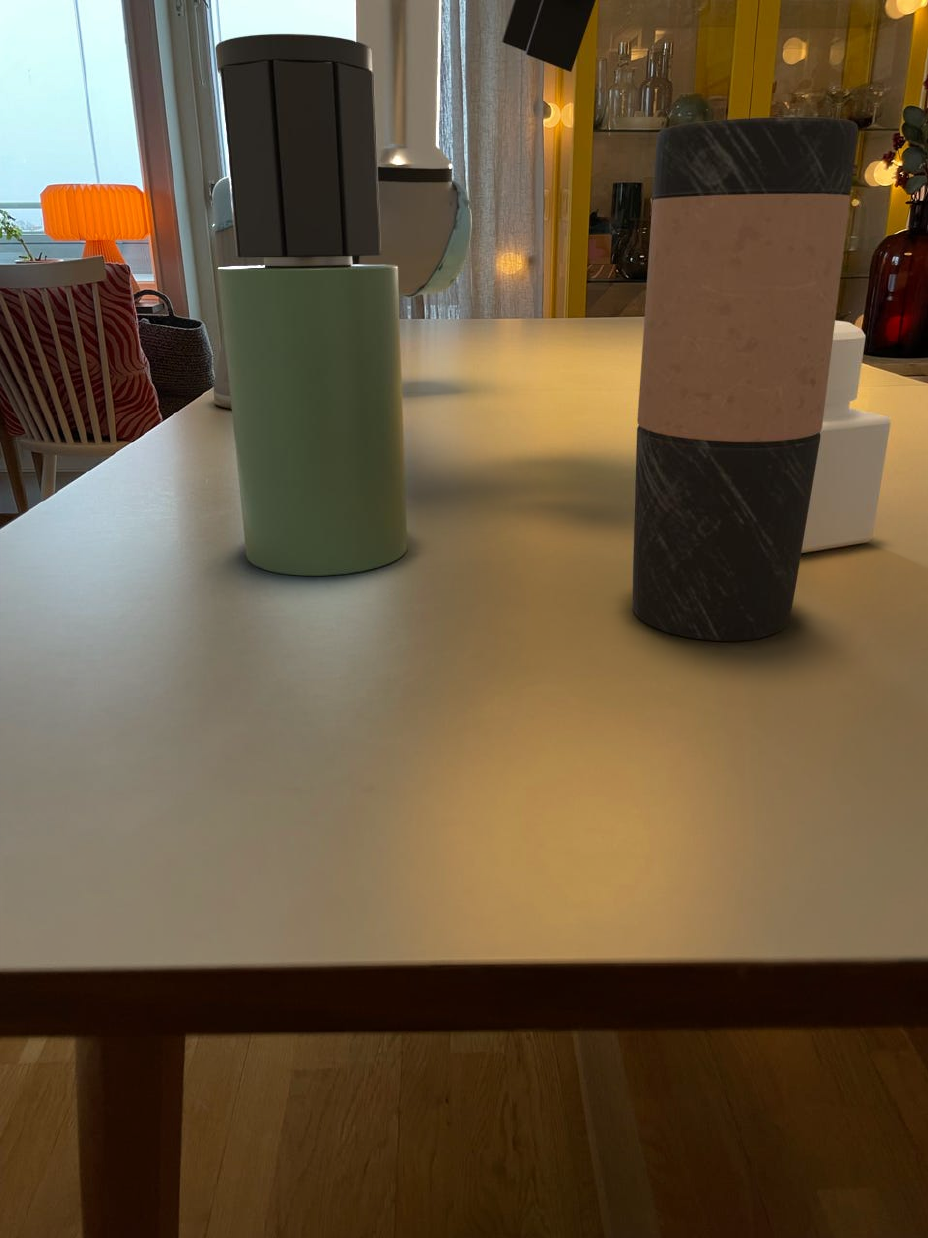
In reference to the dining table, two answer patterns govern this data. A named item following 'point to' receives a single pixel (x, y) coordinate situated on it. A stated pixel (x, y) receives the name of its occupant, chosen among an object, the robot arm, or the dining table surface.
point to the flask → (317, 412)
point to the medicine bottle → (846, 454)
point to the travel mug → (735, 367)
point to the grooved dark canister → (300, 145)
